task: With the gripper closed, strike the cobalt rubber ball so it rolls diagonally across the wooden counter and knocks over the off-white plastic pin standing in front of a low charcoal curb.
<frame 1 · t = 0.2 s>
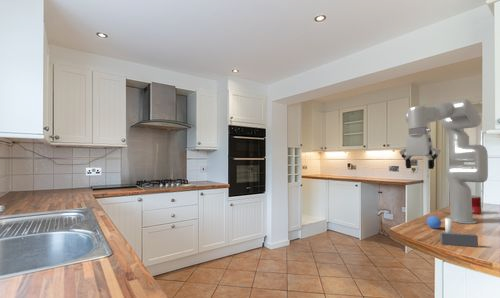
hand: (419, 168, 119), 31 cm above the countertop, tool pointing down, fingers open, 9 cm apart
curb: (458, 245, 103), on the countertop
ball: (433, 222, 128), on the countertop
canned food: (472, 213, 160), on the countertop
pin: (449, 238, 112), on the countertop
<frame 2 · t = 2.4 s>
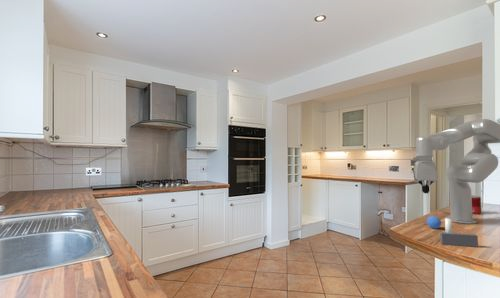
hand: (425, 193, 138), 16 cm above the countertop, tool pointing down, fingers closed
nothing on the countertop moved.
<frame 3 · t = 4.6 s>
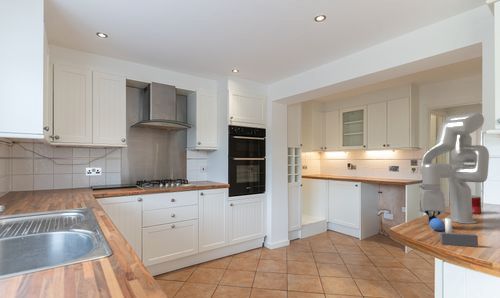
hand: (432, 224, 128), 2 cm above the countertop, tool pointing down, fingers closed
ball: (437, 224, 124), on the countertop
everything else where it was.
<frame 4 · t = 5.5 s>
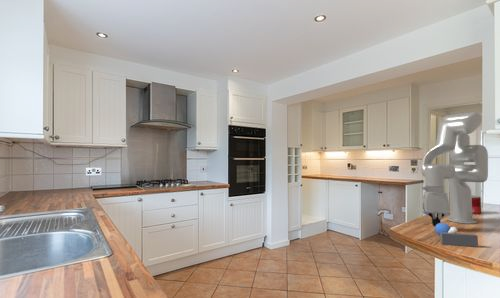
hand: (436, 226, 125), 2 cm above the countertop, tool pointing down, fingers closed
ball: (443, 229, 115), on the countertop
pin: (449, 236, 111), point 1 cm above the countertop, tilted 56°, touching curb
everything else where it was.
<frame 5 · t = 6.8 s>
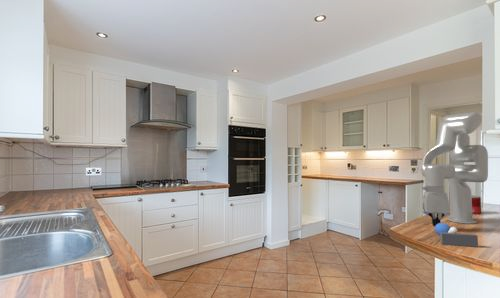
hand: (436, 226, 125), 2 cm above the countertop, tool pointing down, fingers closed
nothing on the countertop moved.
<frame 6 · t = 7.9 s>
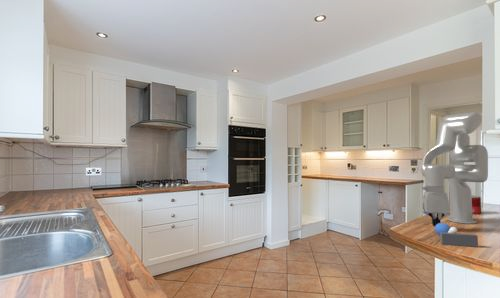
hand: (436, 226, 125), 2 cm above the countertop, tool pointing down, fingers closed
nothing on the countertop moved.
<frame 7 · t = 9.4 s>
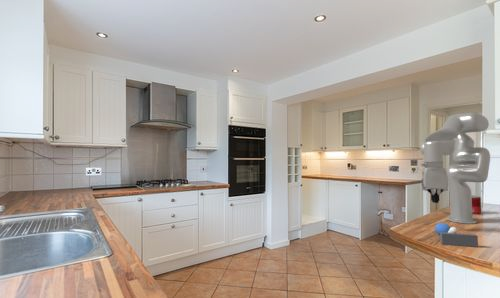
hand: (435, 202, 126), 13 cm above the countertop, tool pointing down, fingers closed
nothing on the countertop moved.
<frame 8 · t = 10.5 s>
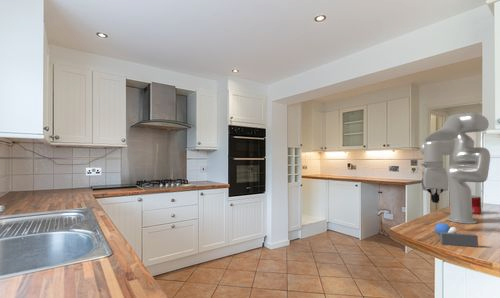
hand: (435, 202, 126), 13 cm above the countertop, tool pointing down, fingers closed
nothing on the countertop moved.
at the end: pin tilted 56°; pin never touched the robot; ball moved 14.5 cm from its start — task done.
